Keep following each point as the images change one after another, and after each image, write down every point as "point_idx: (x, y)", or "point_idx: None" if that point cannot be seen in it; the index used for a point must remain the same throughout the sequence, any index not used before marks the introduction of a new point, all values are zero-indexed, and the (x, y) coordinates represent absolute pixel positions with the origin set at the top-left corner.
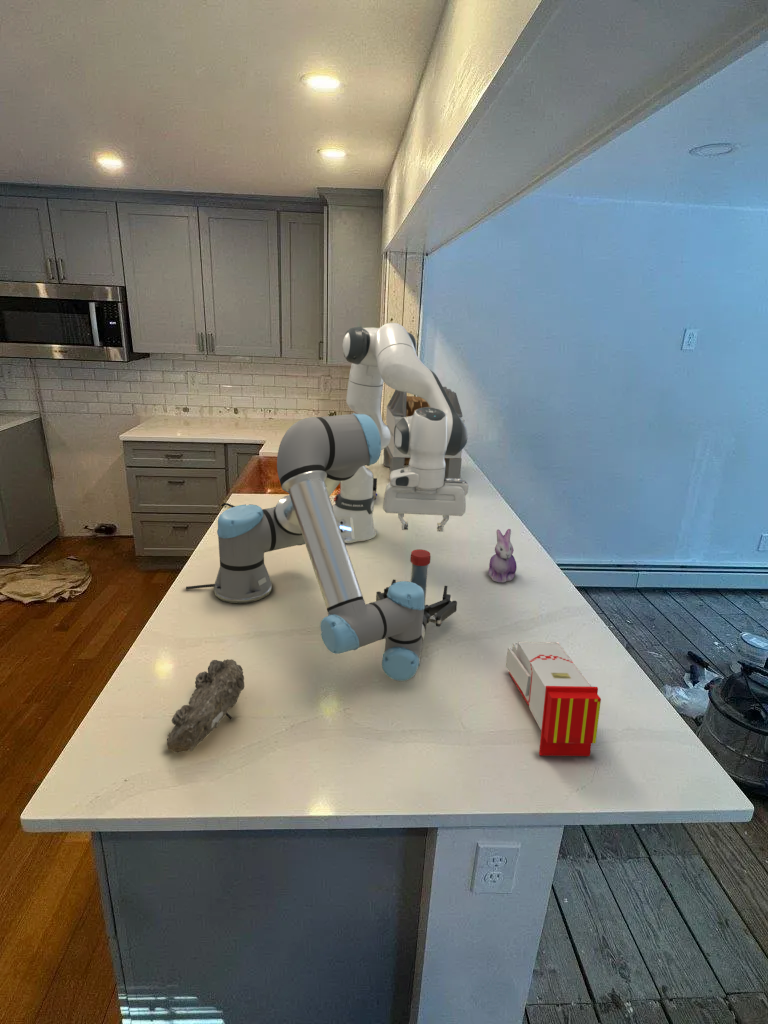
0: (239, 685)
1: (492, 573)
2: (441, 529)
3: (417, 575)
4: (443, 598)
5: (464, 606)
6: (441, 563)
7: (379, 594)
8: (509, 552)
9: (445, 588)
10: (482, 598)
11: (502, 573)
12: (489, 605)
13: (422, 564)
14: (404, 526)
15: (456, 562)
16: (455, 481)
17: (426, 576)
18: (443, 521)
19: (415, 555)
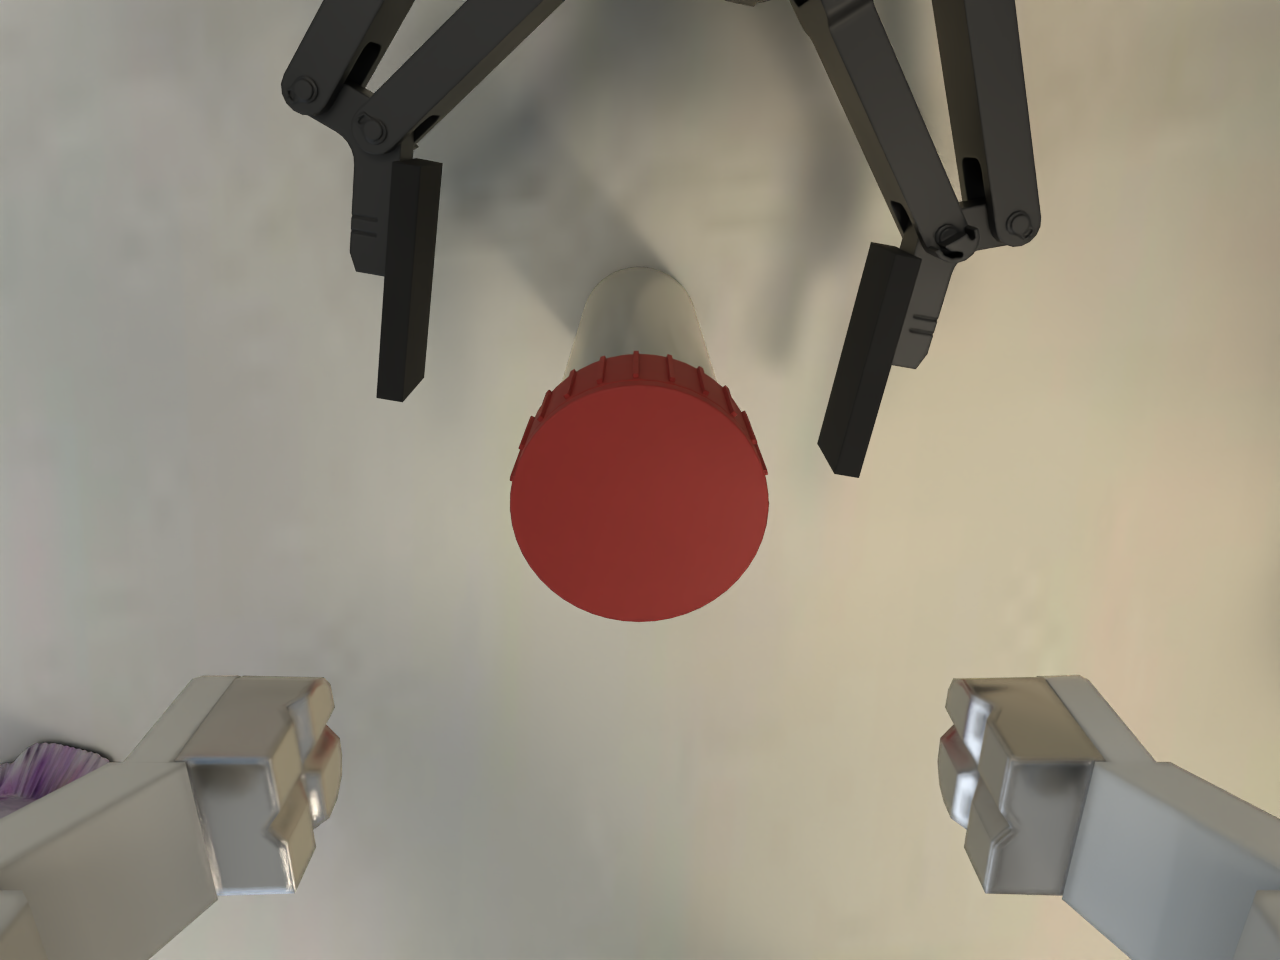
0: None
1: None
2: (221, 697)
3: (665, 341)
4: (414, 166)
5: (296, 424)
6: (449, 938)
7: (1017, 186)
8: None
9: (394, 347)
10: (174, 539)
11: (16, 798)
12: (121, 450)
13: (618, 358)
14: (1069, 716)
15: (354, 956)
16: None
17: (567, 372)
18: (87, 859)
19: (717, 431)
